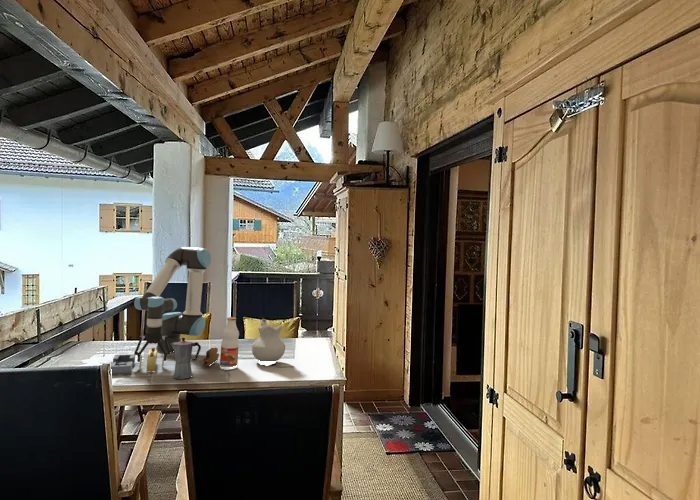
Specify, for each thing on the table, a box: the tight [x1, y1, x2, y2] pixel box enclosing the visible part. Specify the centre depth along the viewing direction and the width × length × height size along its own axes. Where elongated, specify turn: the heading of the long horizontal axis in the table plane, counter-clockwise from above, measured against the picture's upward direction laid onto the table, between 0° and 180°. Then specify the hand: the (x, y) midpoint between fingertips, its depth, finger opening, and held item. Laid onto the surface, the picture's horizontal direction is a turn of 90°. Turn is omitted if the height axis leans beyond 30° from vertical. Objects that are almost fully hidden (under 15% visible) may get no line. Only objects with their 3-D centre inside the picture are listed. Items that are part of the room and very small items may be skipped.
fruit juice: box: [219, 316, 240, 367], centre depth 242 cm, size 9×9×28 cm
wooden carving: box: [202, 347, 220, 367], centre depth 244 cm, size 16×5×10 cm, turn 178°
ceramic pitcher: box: [251, 318, 286, 361], centre depth 257 cm, size 22×20×25 cm
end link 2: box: [109, 361, 133, 377], centre depth 221 cm, size 8×10×4 cm
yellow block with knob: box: [146, 347, 158, 372], centre depth 233 cm, size 15×4×10 cm, turn 21°
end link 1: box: [112, 353, 136, 367], centre depth 235 cm, size 8×10×4 cm
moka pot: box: [170, 337, 202, 380], centre depth 221 cm, size 10×15×20 cm, turn 95°
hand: (151, 367), depth 233 cm, fingers open, 10 cm apart
